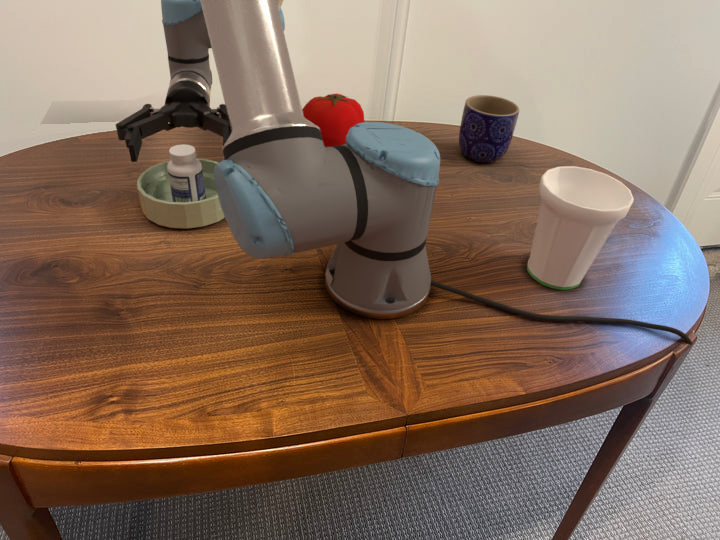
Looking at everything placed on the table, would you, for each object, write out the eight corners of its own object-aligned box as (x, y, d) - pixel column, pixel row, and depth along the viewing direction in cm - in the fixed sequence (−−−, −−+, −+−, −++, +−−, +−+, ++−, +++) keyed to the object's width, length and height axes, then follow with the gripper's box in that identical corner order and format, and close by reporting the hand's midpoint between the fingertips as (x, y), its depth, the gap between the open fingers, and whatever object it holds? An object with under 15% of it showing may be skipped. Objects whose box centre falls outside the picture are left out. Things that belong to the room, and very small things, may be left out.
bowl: (254, 203, 93) (253, 177, 90) (186, 242, 82) (182, 215, 79) (193, 174, 99) (190, 149, 96) (122, 207, 89) (116, 181, 85)
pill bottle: (197, 191, 93) (190, 139, 87) (212, 205, 90) (206, 152, 84) (167, 200, 90) (158, 146, 84) (181, 214, 87) (173, 160, 81)
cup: (546, 306, 77) (581, 217, 68) (498, 256, 86) (523, 171, 76) (612, 290, 81) (654, 203, 72) (560, 243, 90) (591, 161, 81)
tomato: (368, 162, 108) (374, 107, 101) (302, 165, 105) (303, 108, 98) (355, 136, 117) (359, 84, 110) (294, 138, 114) (294, 84, 107)
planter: (459, 140, 119) (469, 91, 112) (508, 150, 117) (522, 100, 110) (450, 161, 111) (461, 109, 104) (503, 172, 109) (517, 120, 102)
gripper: (259, 119, 102) (264, 173, 86) (119, 120, 97) (97, 177, 81) (257, 80, 97) (262, 128, 81) (110, 79, 93) (85, 130, 76)
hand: (180, 153), depth 81 cm, fingers open, 13 cm apart
